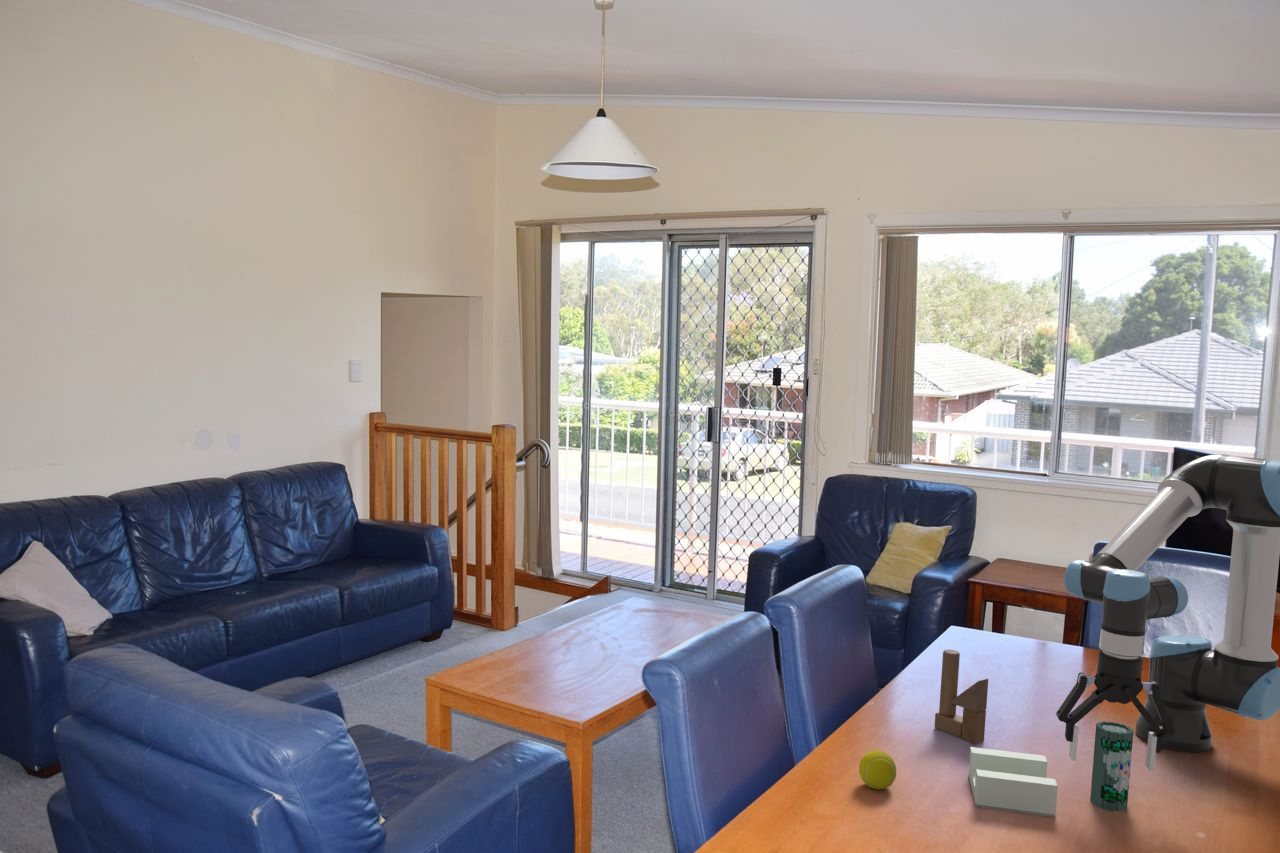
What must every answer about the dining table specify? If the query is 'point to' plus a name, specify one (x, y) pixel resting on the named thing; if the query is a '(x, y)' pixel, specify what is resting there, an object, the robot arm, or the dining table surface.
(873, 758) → the tennis ball
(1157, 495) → the robot arm
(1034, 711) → the dining table surface
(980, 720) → the wooden block
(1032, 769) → the socket block
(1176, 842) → the dining table surface
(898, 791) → the dining table surface
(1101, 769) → the can
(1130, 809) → the dining table surface
